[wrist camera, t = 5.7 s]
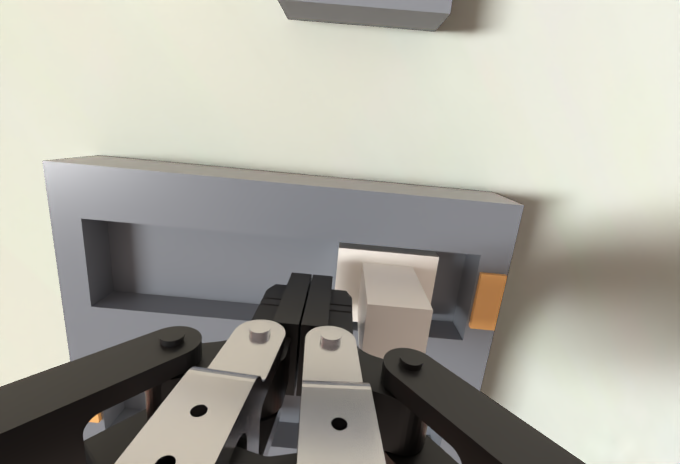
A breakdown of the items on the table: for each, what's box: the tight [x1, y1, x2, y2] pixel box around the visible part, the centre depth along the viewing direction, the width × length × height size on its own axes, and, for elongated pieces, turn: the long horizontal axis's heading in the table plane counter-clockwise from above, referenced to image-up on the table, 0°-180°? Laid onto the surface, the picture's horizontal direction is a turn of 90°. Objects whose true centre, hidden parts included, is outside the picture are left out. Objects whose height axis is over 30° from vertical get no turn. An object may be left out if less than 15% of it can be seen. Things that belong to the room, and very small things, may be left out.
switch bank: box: [43, 155, 524, 464], centre depth 17 cm, size 18×21×3 cm
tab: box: [335, 242, 439, 359], centre depth 13 cm, size 4×3×5 cm
